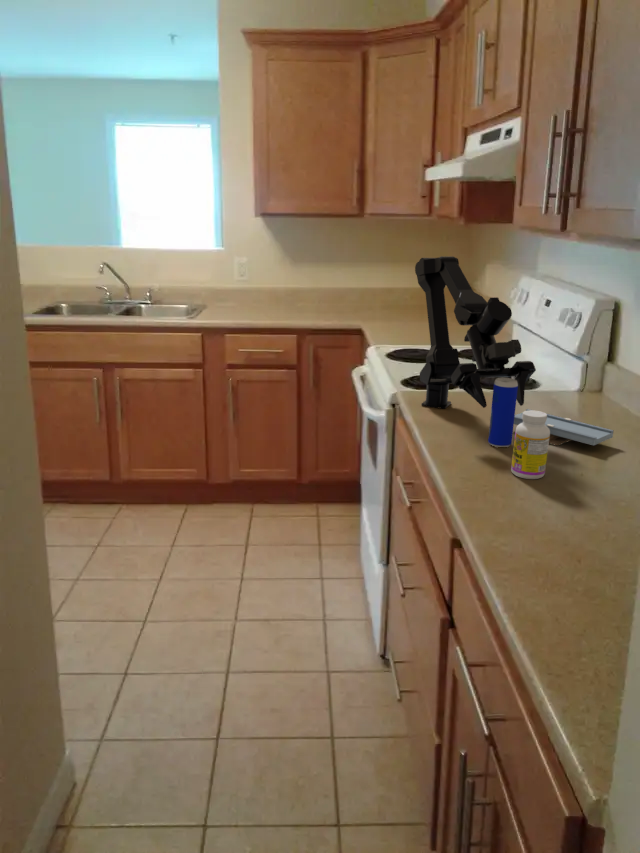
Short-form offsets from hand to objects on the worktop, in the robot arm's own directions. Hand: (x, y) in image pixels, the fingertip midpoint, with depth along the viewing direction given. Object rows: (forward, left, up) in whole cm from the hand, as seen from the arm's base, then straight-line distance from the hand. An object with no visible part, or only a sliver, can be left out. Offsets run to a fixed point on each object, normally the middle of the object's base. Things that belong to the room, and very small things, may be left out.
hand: (503, 405), depth 166 cm
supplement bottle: (+16, +9, -9) cm, 21 cm away
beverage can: (0, 0, -9) cm, 9 cm away
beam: (-12, +11, -7) cm, 18 cm away
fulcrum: (-12, +11, -9) cm, 19 cm away
